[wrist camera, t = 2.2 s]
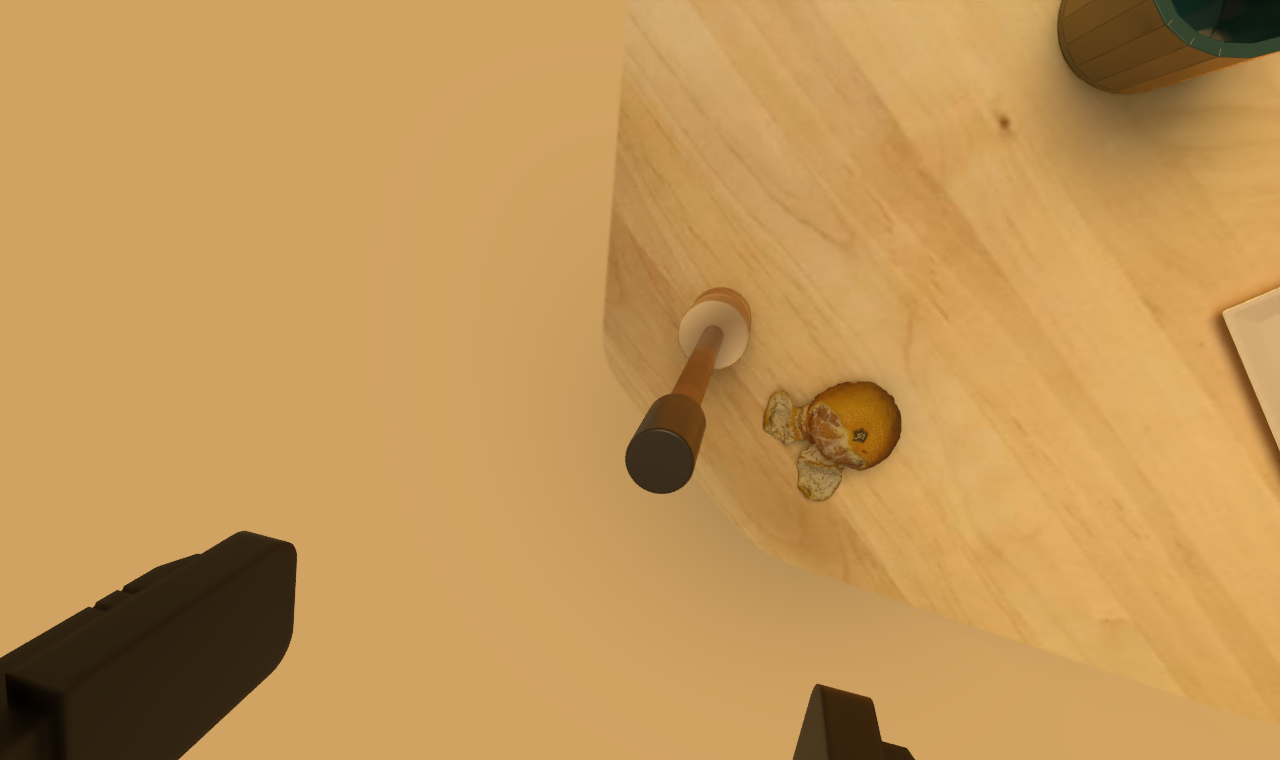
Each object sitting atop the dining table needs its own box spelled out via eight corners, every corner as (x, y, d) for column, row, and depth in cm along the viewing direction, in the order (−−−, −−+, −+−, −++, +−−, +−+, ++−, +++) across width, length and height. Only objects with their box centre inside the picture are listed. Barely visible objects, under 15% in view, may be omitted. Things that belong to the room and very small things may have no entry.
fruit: (749, 404, 48) (748, 420, 44) (862, 344, 45) (870, 355, 42) (810, 505, 49) (813, 528, 45) (923, 450, 46) (936, 470, 43)
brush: (678, 320, 47) (563, 464, 20) (718, 274, 46) (651, 364, 19) (723, 359, 47) (666, 553, 20) (763, 315, 46) (760, 460, 19)
